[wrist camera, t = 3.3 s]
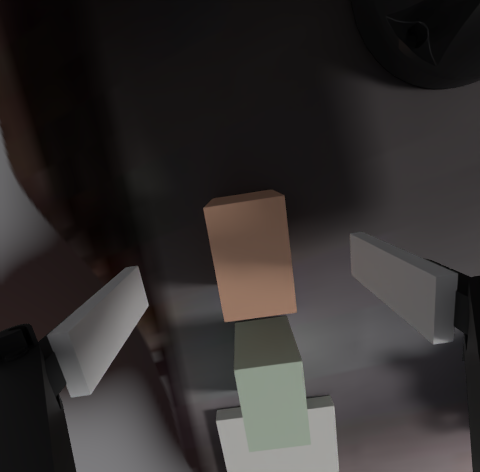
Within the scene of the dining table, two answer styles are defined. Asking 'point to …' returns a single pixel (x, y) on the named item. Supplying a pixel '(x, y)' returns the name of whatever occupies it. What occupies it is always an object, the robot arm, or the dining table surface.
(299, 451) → the base plate
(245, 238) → the terracotta brick
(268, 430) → the sage brick
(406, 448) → the dining table surface
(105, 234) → the dining table surface
